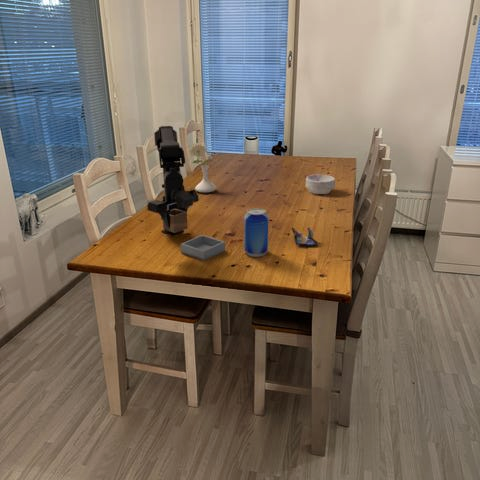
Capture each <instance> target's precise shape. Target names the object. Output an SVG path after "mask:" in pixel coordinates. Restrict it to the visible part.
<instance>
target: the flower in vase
mask: <svg viewBox="0 0 480 480" xmlns="http://www.w3.org/2000/svg"><path fill="white" fill-rule="evenodd" d="M206 152H207V151H206V146H204V145H202V144H195V145H193V147H191V150H190V153H191V155H192V156H193V157H196V158H197V157H198V158H199V159H194V160H193V161H192V164H196V165H197V164H200V163H201V165H199V166H200V169H201V171H202V177H203V178H202V180H201V182H199V183H198V184H197V185H196V186H195V188H194V190H196V191H197V193H198V192H199V193H212V192H215V191H216V190H217V186H216V185H215V184H214V183H213V182H212V181H210V180H209V178H208V170H209V168H210V165H208V163H209V161H210V158H208V159H206V160H204V161H203V162H202V161H201V157H203V156H204V155H205V154H206Z"/></svg>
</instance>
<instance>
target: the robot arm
mask: <svg viewBox="0 0 480 480" xmlns="http://www.w3.org/2000/svg"><path fill="white" fill-rule="evenodd" d="M177 133H178V132H177V131H176V130H175V129H174V127H173V126H172V125H160V126H159V127H158V129H157V130H156V131H154V134H153V135H154V137H153V138H154V145H155V147H156V150H157V151H158V160H159V167H160V169H162V174H163V176H162V177H163V184H161V188H162V189H164V194H163V195H162V199H161V200H158V199H156V200H151V201H149V202H148V203H147V211H149V212H153V213H155V214H158V215H160V220H161V221H162V222H163V221H164V223H165V224H166V226H167V227H168V228H170V215H169V214H170V213H171V210H173V209H178V210H181V211H185V212H187V213H188V209H189V208H190V207H192V206H193V205H194V203H197V202H199V201H200V200H199V199H200V198H199V194H198V191H196V189H191V190H186V189H185V186H184V177H183V175H182V172H181V168H184V167H185V164H186V158H185V150H184V149H183V147H182V146H180V142H179V141H178V134H177ZM161 232H162V233H164V234H166V235H170V236H174V235H176V234H179V233H182V232H184V230H182V231H179V232H176V233H173V232H171V231H168V230H165V229H162V230H161Z"/></svg>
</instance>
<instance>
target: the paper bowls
mask: <svg viewBox="0 0 480 480" xmlns="http://www.w3.org/2000/svg"><path fill="white" fill-rule="evenodd" d="M335 186H336V178H335V177H334V176H331V175H328V174H310V175H307V176H306V178H305V188H306V189H308V190H309V192H310V193H311V194H314V195H318V194H324V195H327V194H330V192H331V190H334V189H335V188H336V187H335Z"/></svg>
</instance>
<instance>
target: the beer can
mask: <svg viewBox="0 0 480 480" xmlns="http://www.w3.org/2000/svg"><path fill="white" fill-rule="evenodd" d="M246 212H247V213H246V214H245V215H244V252H246V254H247V255H248V256H250V257H253V258H255V257H256V258H260V257H264V256H265V255H266V254H267V252H268V251H269V216H268V214H267V213H266V212H267V211H266V209H264V208H260V207H259V208H255V207H254V208H250V209H247V210H246Z"/></svg>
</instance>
